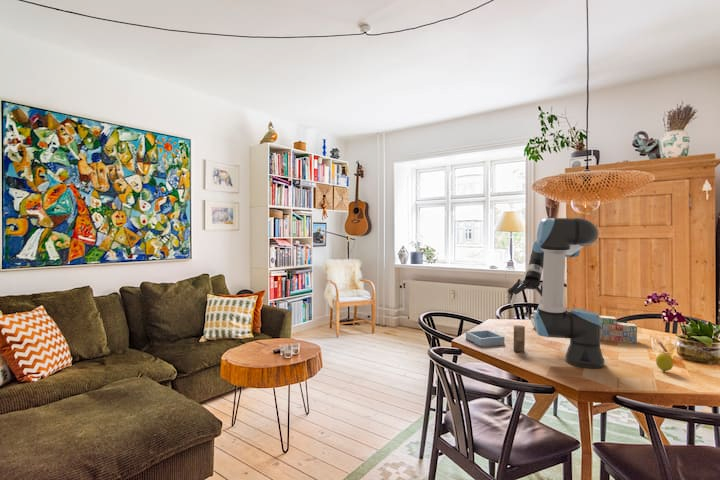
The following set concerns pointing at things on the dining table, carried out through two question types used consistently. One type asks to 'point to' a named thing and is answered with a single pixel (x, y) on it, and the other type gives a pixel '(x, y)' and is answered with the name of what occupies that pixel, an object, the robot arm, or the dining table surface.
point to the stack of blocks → (617, 330)
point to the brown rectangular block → (519, 339)
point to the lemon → (664, 362)
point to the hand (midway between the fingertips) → (525, 306)
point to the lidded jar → (532, 320)
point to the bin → (485, 338)
